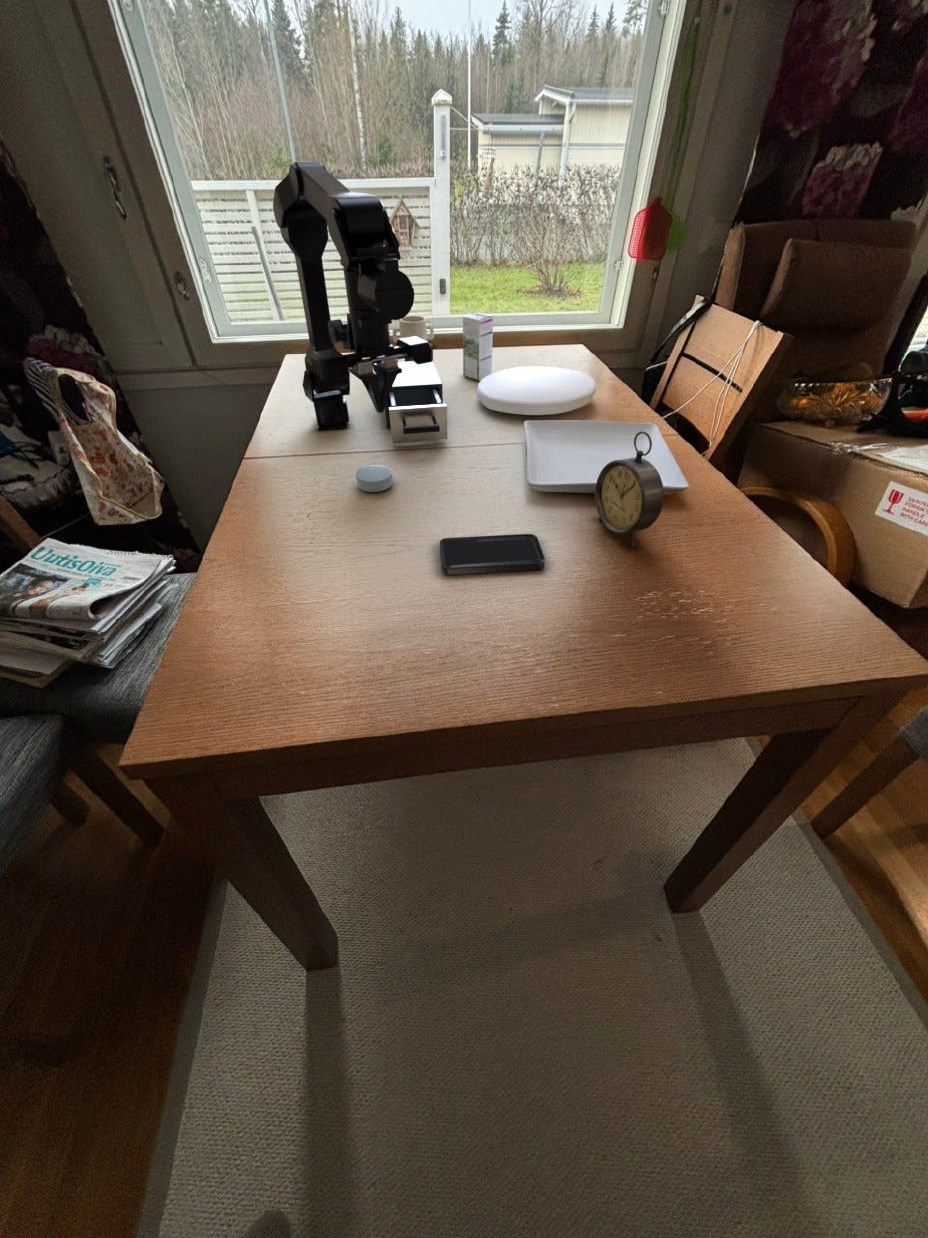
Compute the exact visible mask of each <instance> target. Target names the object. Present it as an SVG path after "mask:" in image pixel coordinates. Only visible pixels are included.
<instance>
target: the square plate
mask: <svg viewBox="0 0 928 1238" xmlns="http://www.w3.org/2000/svg"><path fill="white" fill-rule="evenodd" d="M640 431H644V432H646V433H648V434H649V436H650V437H651V440H652V448H651V450H650V452H649V453H648V454H647V455H645V456H642V459H645V460H647V461H648V462H650V463H651V464H652V465H653V466H654V467H655V468H656V470H657V471H658V473H659V475H660V477H661V480H662V483H663V489H664V496H665V495H666V496H667V495H673V494H677V493H680V492H683V491H686V490H687V489H689V488H690V485H689V482H688V481H687V479H686V477H685V475H684V473H683V471H682V470H681V467H680V466H679V464H678V462H677V460H676V459H675V457H674V455H673V453H672V452H671V450H670V448H669V446H668V444H667V442H666V440H665V438H664V436H663V435H662V433H661V431H660V429H659V428H658V426H657V425H656V424H655V423H652V422H635V421H617V420H615V421H614V420H581V419H578V420H575V419H574V420H573V419H570V420H569V419H565V420H564V419H562V420H561V419H557V420H556V419H554V420H552V419H551V420H550V419H549V420H547V419H546V420H525V421H524V422H523V432H524V439H525V447H526V481H527V485H528V486H529V487H530V488H531V489H532V490H535V491H539V492H547V493H549V492H550V493H568V494H595V490H596V483H597V479H598V477H599V475H600V472H601V471H602V469H603V468H604V467H605V466H606V465H607V464H608V463H610V462H612V461H614V460H622V459H628V458H635V457H636V456H637V455H636V453H637V451H636V450H635V446H634V438H635V436H636V434H637V433H638V432H640ZM636 447H637V450H638V451H640V450H641V451H643V454H645V453H647V452H648V450H649V447H650V443H649V439H648V437H647V436H646V435H645V434H639V435H638V437H637V439H636Z"/></svg>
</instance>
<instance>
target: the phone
mask: <svg viewBox="0 0 928 1238" xmlns="http://www.w3.org/2000/svg"><path fill="white" fill-rule="evenodd" d="M439 552H440V564H441V571H442V573H443V574H445V575H447V576H448V575H450V576H451V575H453V576H454V575H469V574H471V575H472V574H488V573H490V574H491V573H504V572H505V573H508V572H524V571H525V572H526V571H527V572H528V571H540V570H543V569H544V567H545V563H546V559H545V555H544V553H543V550H542V546H541V544H540V541H539V538H538V536H537V535H535V534H533V533H517V534H500V535H499V534H498V535H496V534H495V535H476V536H459V537H456V536H455V537H444V538H442V539H440V541H439Z"/></svg>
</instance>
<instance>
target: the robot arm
mask: <svg viewBox="0 0 928 1238" xmlns="http://www.w3.org/2000/svg"><path fill="white" fill-rule="evenodd" d="M272 210H273V215H274V220H275V222H276V226H277V227H278V228H279V230H280V235H281V238H282V239H283V241H284V242H285V243H286V245H287V246H288V248H289V249H290V251H291V252H292V254H293V256H294V260H295V266H296V271H297V277H298V283H299V288H300V294H301V300H302V306H303V311H304V317H305V323H306V328H307V329H306V330H307V335H308V341H309V345H308V348H307V351H306V353H305V356H304V366H305V370H304V371H303V379H302V388H303V392H304V395H305V397H306V398H307V399H308V400H309V401H310V402H311V403H313V408H314V412H315V413H314V414H315V418H316V429H317V431H327V430H340V429H341V430H343V429H348V425H349V423H350V415H349V407H348V401H347V399H346V398H344V396H350V395H351V393H350V392H351V374H352V375H353V376H354V377H356V378H357V379H358V380H360V381H361V383H362V384H363V386H364V388H365V389H366V392H367V394H368V396H369V399H370V400H371V401H372V402H371V403H372V404H373V407H374V408H375V411H376V413H378V414H384V408H385V405H386V402H387V399H388V396H389V393H390V390H391V388H392V386H393V383H394V381H395V379H396V377H397V375H398V374H399V373H402V369H401V368H400V367H398V362H399V360H403V359H404V360H405V358H410V357H412V360H413V361H414V362H415V363H416V364H424V363H429V362H432V361H433V362H434V349H433V346H432V345H431V343H430V342H429V341H428V340H427V341H425V340H423V339H421V338H419V337H417V336H413V337H406V338H400V337H399V338H400V339H398V340H397V342H395V343H396V344H395V345H396V346H394V345H393V344H392V343H391V335H390V334H391V333H390V325H391V324H393V321H399V320H400V319H402V318H404V317H405V316H408V315H409V313H410V312H411V310H412V308H413V306H414V302H415V288H414V286H413V284H412V281H411V279H410V278H409V277H408V275H407V274H406V273H405V272H403V271H401V270H400V266H399V261H401V258H402V257H401V253H400V242H399V240H398V237H397V235H396V233H395V230H394V228H393V226H392V222H391V220H390V218H389V215H388V212H387V209H386V207H385V206H384V204H383V203H382V201H381V199H380V198H379V197H378V196H376V195H374V194H370V193H365V192H356V191H351V190H350V189H349V188H347V186H346V185H344V184H343V183H342V182H340V180H338V179H337V178H336V177H335V176H334V175H332V174H331V172H329V171H328V170H327V167H326V165H325V164H324V163H321V162H320V161H294V162H293V163H290V165H289V167H288V174H287V175H286V176H285V177H284V178H283V179H282V180H280V182H279V183H278V184H277V185H275V187H274V194H273V200H272ZM329 238H330V239H331V241H332V243H333V245H334V247H335V249H336V250H337V253H338V255H339V257H340V260H339V264H340V266H342V268H343V270H342V271H343V277H344V284H345V291H346V298H347V306H348V311H346V323H345V324H343V321H342V320H341V319H340V318H337V319H331V314H330V312H331V311H330V305H329V299H328V298H329V297H328V292H327V283H326V278H325V277H326V276H325V271H324V270H325V269H324V262H323V255H324V253H325V250H326V248H327V245H328V242H329ZM336 344H342V347H343V350H346V351H347V350H349V351H351V352H352V351H353V353H346V354H343V353H341V352H340V351H338V349H337V348H336V346H335V345H336Z"/></svg>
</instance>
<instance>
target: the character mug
mask: <svg viewBox="0 0 928 1238" xmlns="http://www.w3.org/2000/svg"><path fill="white" fill-rule="evenodd" d="M398 325H399V327H394V328H392V340H393V342H394V343H397V340H398V339H400V338H406V337H413V336H417V337H419V338H421V339H423V340H425V341H427V342H428V340H434V338H435V337H434V336H435V334H434V333H435V331H434V325H432V324H427V318H426V317H424V316H420V315H406V316H405V317H404V318H402V319H400V320H398ZM428 330H429V335H428ZM397 333H399V337H398V335H397ZM407 361H413V360H412V357H410V358H404V361H403V362H407Z"/></svg>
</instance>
